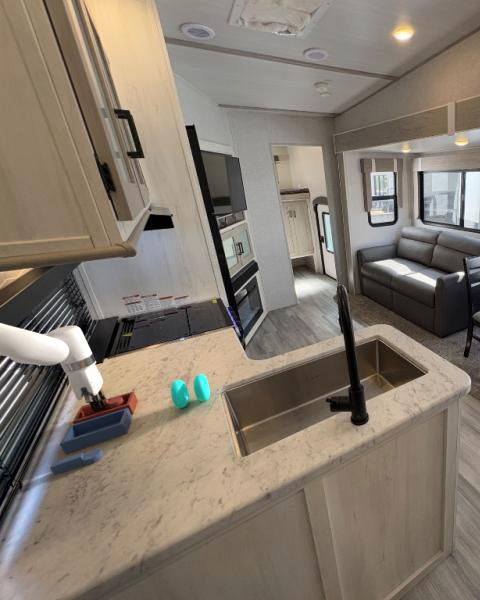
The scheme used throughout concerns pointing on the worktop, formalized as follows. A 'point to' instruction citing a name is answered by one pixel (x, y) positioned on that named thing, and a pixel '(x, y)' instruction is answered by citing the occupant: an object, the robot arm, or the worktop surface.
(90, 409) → the red elongated piece
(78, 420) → the red bin
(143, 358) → the worktop surface
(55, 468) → the blue spoon
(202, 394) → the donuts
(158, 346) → the worktop surface
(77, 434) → the blue bin
